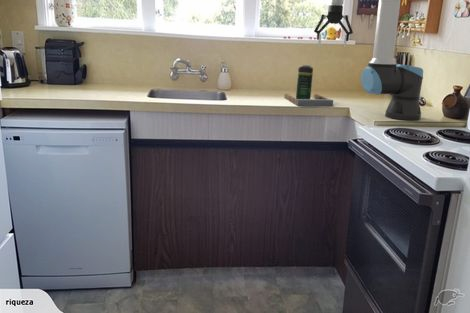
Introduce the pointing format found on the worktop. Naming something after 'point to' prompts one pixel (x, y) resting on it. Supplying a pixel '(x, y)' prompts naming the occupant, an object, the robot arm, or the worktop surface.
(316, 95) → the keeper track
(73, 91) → the worktop surface
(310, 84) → the coffee jar
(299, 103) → the end stop
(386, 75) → the robot arm
